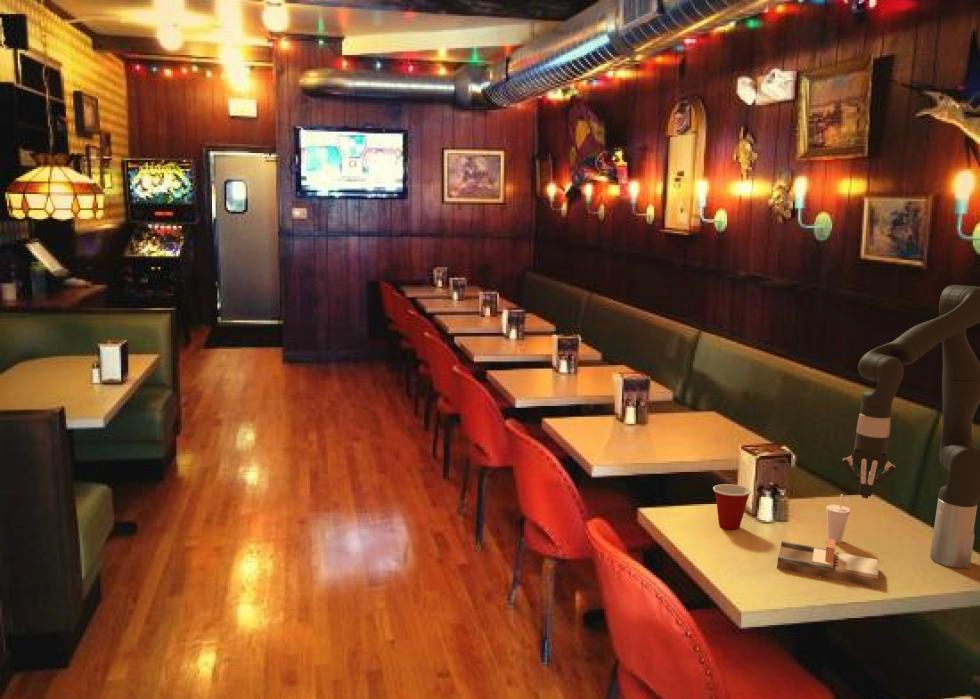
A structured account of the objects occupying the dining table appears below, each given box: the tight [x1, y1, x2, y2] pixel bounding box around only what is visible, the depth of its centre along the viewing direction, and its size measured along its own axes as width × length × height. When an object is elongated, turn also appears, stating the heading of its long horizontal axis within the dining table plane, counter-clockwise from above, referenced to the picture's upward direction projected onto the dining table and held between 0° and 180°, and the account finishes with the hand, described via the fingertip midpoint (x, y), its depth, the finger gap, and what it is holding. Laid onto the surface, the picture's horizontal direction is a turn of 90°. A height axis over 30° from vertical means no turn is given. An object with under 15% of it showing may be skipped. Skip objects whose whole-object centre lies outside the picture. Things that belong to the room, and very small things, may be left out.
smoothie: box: [825, 493, 851, 544], centre depth 235 cm, size 6×6×14 cm
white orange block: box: [812, 537, 836, 566], centre depth 218 cm, size 5×9×5 cm, turn 156°
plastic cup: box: [712, 483, 752, 531], centre depth 243 cm, size 11×11×12 cm
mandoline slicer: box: [776, 540, 879, 589], centre depth 218 cm, size 24×12×3 cm, turn 66°
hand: (864, 497), depth 212 cm, fingers closed
